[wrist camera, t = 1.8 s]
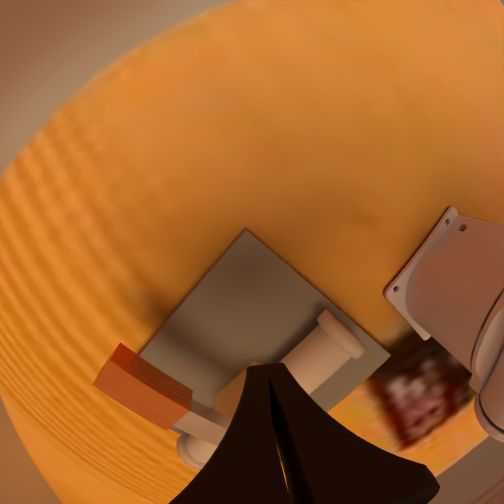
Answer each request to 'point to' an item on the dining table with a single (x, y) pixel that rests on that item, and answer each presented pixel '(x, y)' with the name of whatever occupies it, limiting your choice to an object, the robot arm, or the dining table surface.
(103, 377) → the valve lever
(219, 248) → the dining table surface
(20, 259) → the dining table surface
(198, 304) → the pipe board
